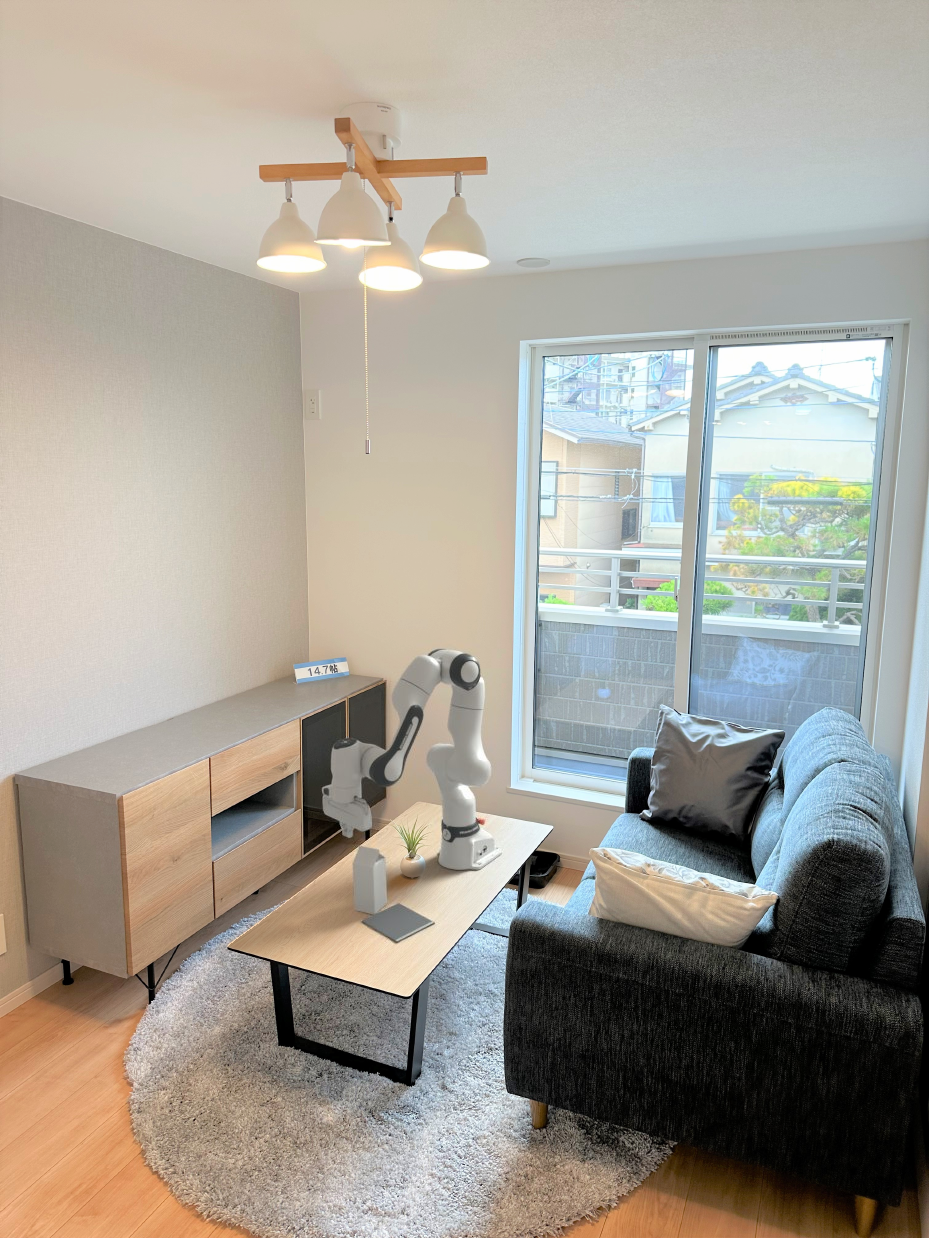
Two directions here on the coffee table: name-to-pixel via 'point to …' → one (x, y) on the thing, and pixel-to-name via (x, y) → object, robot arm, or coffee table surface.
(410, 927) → the mat
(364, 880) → the milk carton
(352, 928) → the coffee table surface
